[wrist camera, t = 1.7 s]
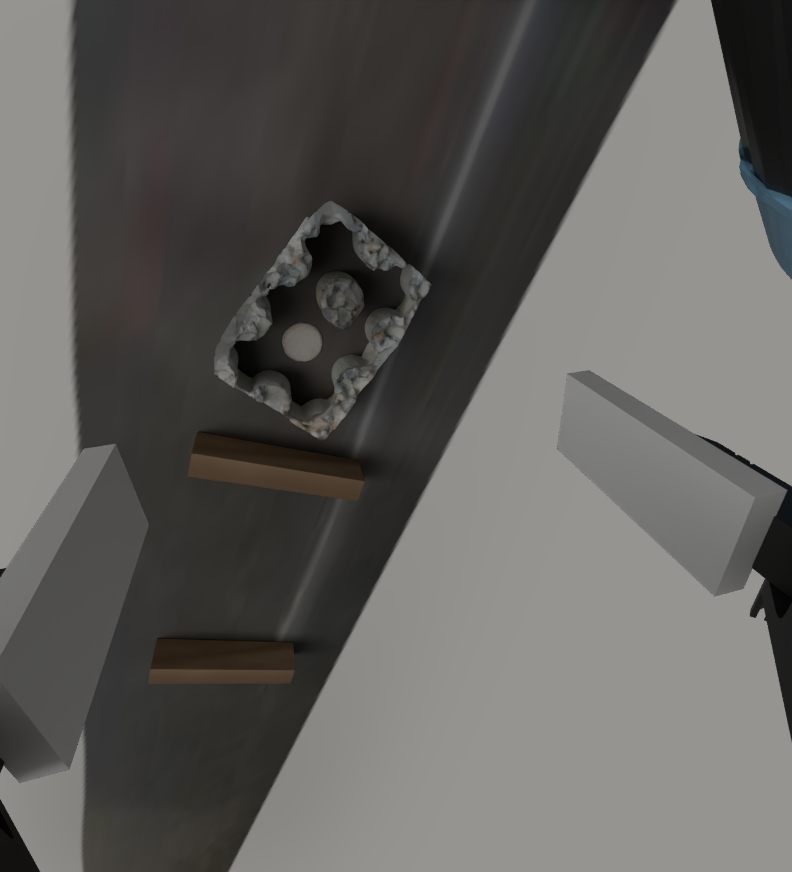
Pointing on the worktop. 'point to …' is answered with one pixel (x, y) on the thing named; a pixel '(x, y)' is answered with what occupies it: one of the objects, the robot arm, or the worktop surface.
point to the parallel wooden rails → (259, 469)
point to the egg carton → (305, 341)
